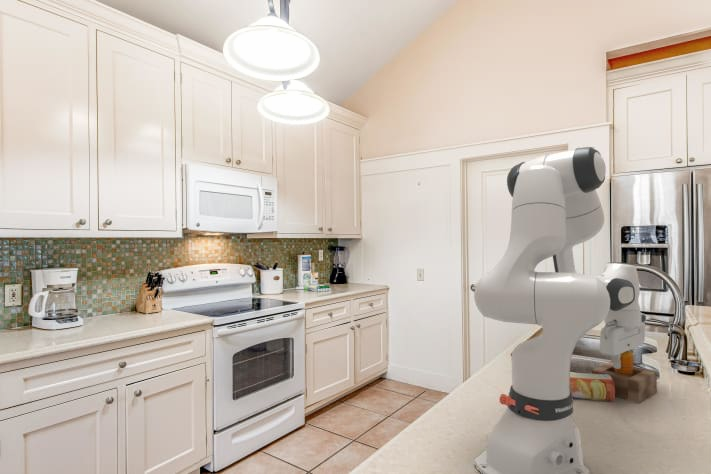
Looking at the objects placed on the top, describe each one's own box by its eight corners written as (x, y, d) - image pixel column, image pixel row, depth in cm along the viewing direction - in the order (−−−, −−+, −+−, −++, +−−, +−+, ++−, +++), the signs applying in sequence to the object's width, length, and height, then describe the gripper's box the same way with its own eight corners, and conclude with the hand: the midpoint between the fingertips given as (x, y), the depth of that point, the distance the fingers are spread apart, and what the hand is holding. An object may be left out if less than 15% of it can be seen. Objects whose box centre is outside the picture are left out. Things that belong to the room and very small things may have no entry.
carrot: (634, 388, 117) (632, 337, 117) (634, 394, 113) (633, 341, 113) (613, 385, 120) (612, 335, 120) (613, 391, 116) (612, 339, 116)
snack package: (530, 396, 116) (530, 372, 116) (530, 387, 122) (529, 365, 122) (616, 405, 108) (615, 380, 108) (611, 395, 115) (610, 372, 115)
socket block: (638, 403, 108) (638, 381, 108) (592, 390, 118) (591, 369, 118) (656, 392, 115) (656, 371, 115) (611, 380, 125) (610, 361, 125)
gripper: (617, 325, 108) (618, 376, 108) (649, 314, 120) (650, 361, 120) (592, 321, 113) (593, 370, 113) (625, 311, 125) (626, 356, 125)
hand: (623, 365), depth 117 cm, fingers open, 5 cm apart
